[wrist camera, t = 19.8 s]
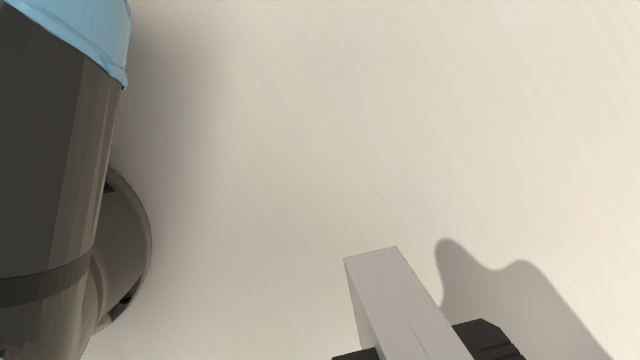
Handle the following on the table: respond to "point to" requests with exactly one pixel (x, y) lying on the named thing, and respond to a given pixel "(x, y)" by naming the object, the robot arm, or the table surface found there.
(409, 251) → the table surface
